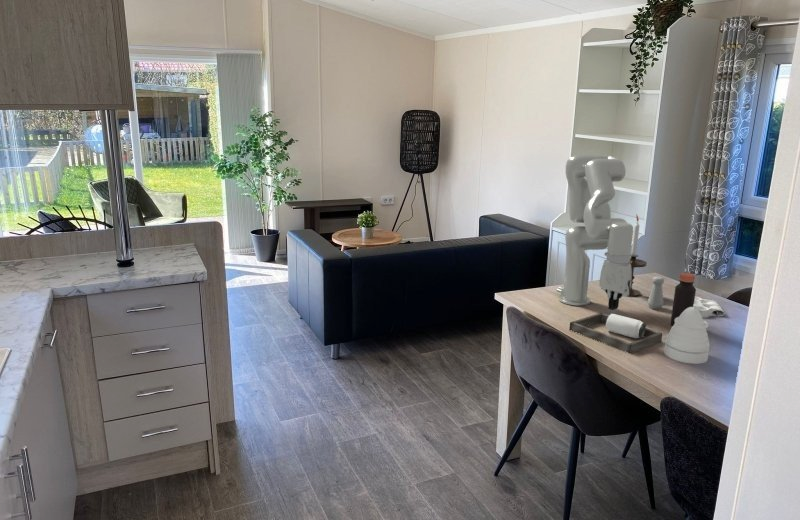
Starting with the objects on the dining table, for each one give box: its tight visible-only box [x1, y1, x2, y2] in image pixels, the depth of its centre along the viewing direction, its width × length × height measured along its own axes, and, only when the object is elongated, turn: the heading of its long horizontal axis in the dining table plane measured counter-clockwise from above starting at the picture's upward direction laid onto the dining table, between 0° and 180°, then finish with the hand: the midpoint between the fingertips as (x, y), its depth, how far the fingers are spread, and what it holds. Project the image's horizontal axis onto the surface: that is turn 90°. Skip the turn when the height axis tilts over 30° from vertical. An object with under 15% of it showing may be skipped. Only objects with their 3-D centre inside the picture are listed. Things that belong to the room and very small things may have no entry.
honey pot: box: [664, 304, 710, 365], centre depth 190 cm, size 13×13×18 cm
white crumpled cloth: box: [694, 296, 726, 319], centre depth 234 cm, size 3×18×15 cm
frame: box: [568, 312, 663, 354], centre depth 207 cm, size 25×18×3 cm
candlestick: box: [627, 213, 647, 298], centre depth 250 cm, size 11×11×35 cm
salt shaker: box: [647, 276, 665, 311], centre depth 235 cm, size 6×6×13 cm
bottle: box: [669, 272, 697, 327], centre depth 214 cm, size 7×7×20 cm
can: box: [605, 313, 647, 340], centre depth 208 cm, size 6×6×12 cm
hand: (612, 308), depth 206 cm, fingers closed
